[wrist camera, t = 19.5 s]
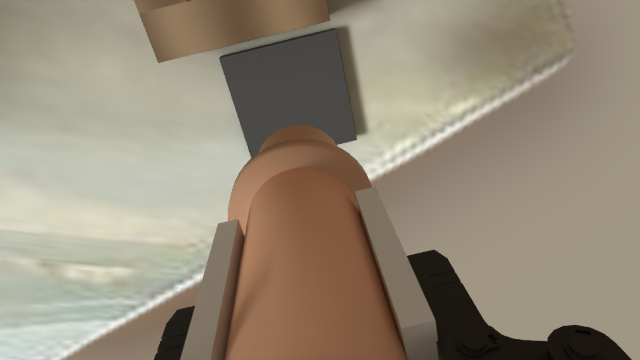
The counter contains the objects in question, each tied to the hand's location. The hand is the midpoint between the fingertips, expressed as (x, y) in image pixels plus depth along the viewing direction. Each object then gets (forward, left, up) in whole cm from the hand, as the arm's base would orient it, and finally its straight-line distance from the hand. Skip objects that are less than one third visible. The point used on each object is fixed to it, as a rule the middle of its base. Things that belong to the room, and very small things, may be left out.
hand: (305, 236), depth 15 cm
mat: (0, 0, -21) cm, 21 cm away
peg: (0, 0, -7) cm, 7 cm away
